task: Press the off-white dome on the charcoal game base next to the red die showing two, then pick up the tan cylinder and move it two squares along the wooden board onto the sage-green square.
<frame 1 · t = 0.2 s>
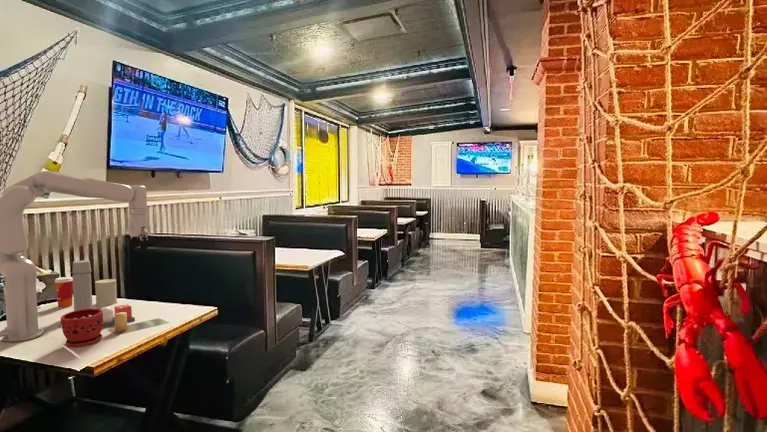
hand: (139, 248, 206), 31 cm above the table, tool pointing down, fingers open, 9 cm apart
can: (106, 303, 224), on the table
popper base: (114, 324, 191), on the table
plant pot: (83, 344, 167), on the table
tan cylinder: (121, 330, 181), point 1 cm above the table, touching game board
water bottle: (84, 314, 205), on the table
game board: (139, 327, 186), on the table
paper cup: (65, 306, 219), on the table
dome: (105, 314, 188), point 5 cm above the table, slide at 0.0 cm
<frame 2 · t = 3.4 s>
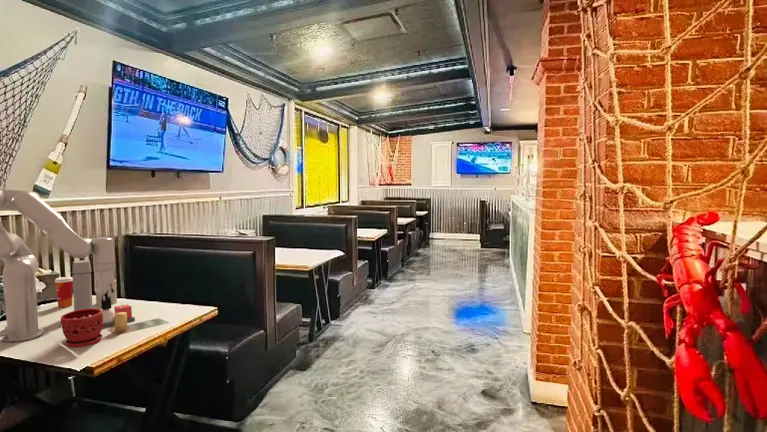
hand: (106, 308, 188), 7 cm above the table, tool pointing down, fingers closed
dome: (105, 316, 188), point 4 cm above the table, slide at 0.9 cm
everything else where it was.
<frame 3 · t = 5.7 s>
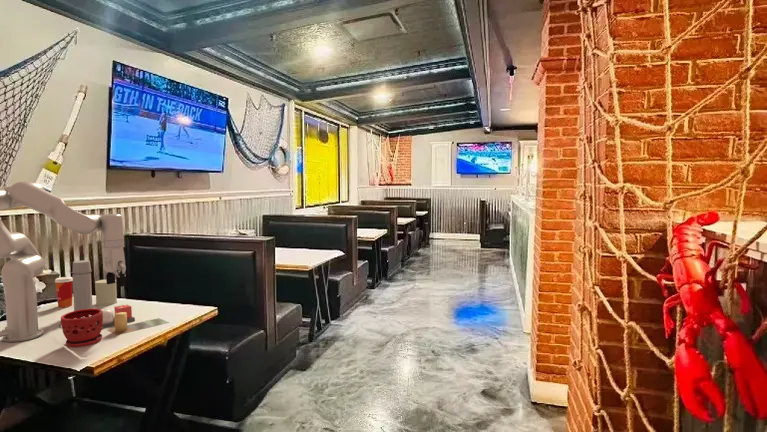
hand: (116, 284, 182), 19 cm above the table, tool pointing down, fingers open, 9 cm apart
nothing on the table moved.
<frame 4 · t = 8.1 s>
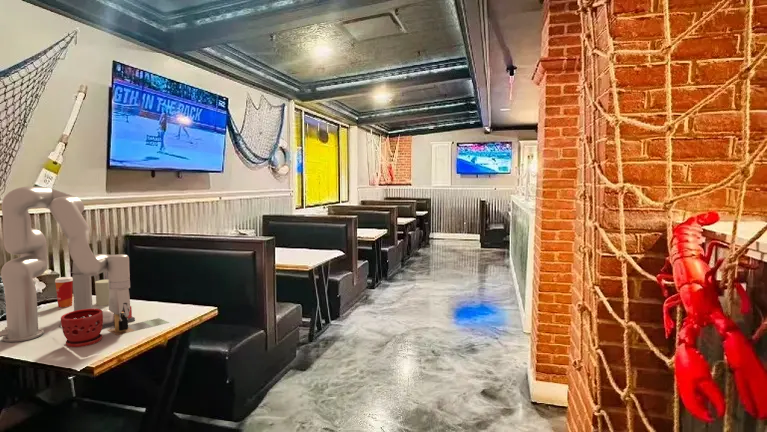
hand: (121, 328, 181), 2 cm above the table, tool pointing down, fingers closed on tan cylinder, 4 cm apart
tan cylinder: (121, 330, 181), point 1 cm above the table, touching game board, gripper
everything else where it was.
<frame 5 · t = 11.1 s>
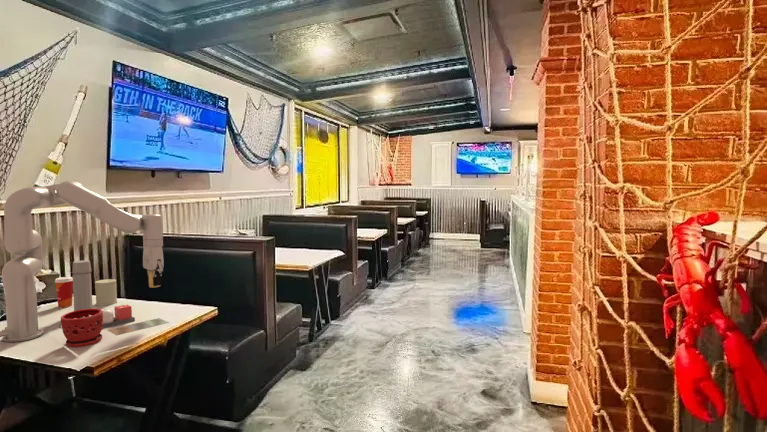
hand: (154, 284, 191), 17 cm above the table, tool pointing down, fingers closed on tan cylinder, 4 cm apart
tan cylinder: (154, 286, 191), point 16 cm above the table, touching gripper
everything else where it was.
when the fingers open (2 cm above the table, at t = 14.2 s): tan cylinder stays where it is, resting on game board.
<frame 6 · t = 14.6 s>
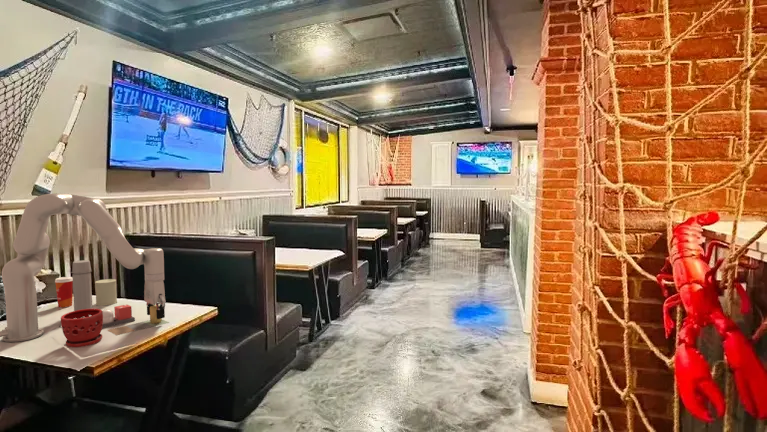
hand: (155, 316, 192), 3 cm above the table, tool pointing down, fingers open, 8 cm apart
tan cylinder: (155, 322, 192), point 1 cm above the table, touching game board
everything else where it was.
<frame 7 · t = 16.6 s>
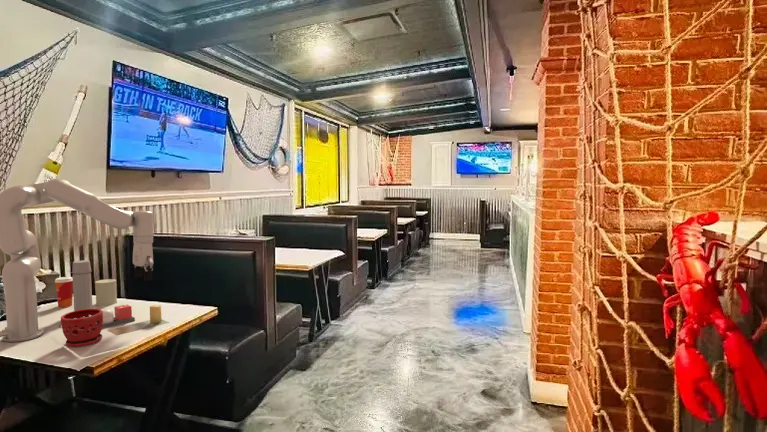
hand: (143, 278, 191), 20 cm above the table, tool pointing down, fingers open, 9 cm apart
nothing on the table moved.
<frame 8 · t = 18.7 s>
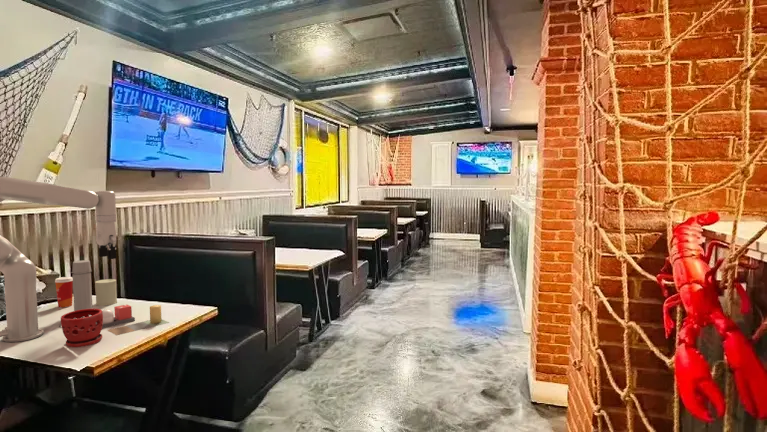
hand: (107, 257, 194), 28 cm above the table, tool pointing down, fingers open, 9 cm apart
nothing on the table moved.
at the end: dome slide at 1.2 cm; tan cylinder 0.1 cm from the target spot, point 0.6 cm above the table; tan cylinder tilted 0° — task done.
